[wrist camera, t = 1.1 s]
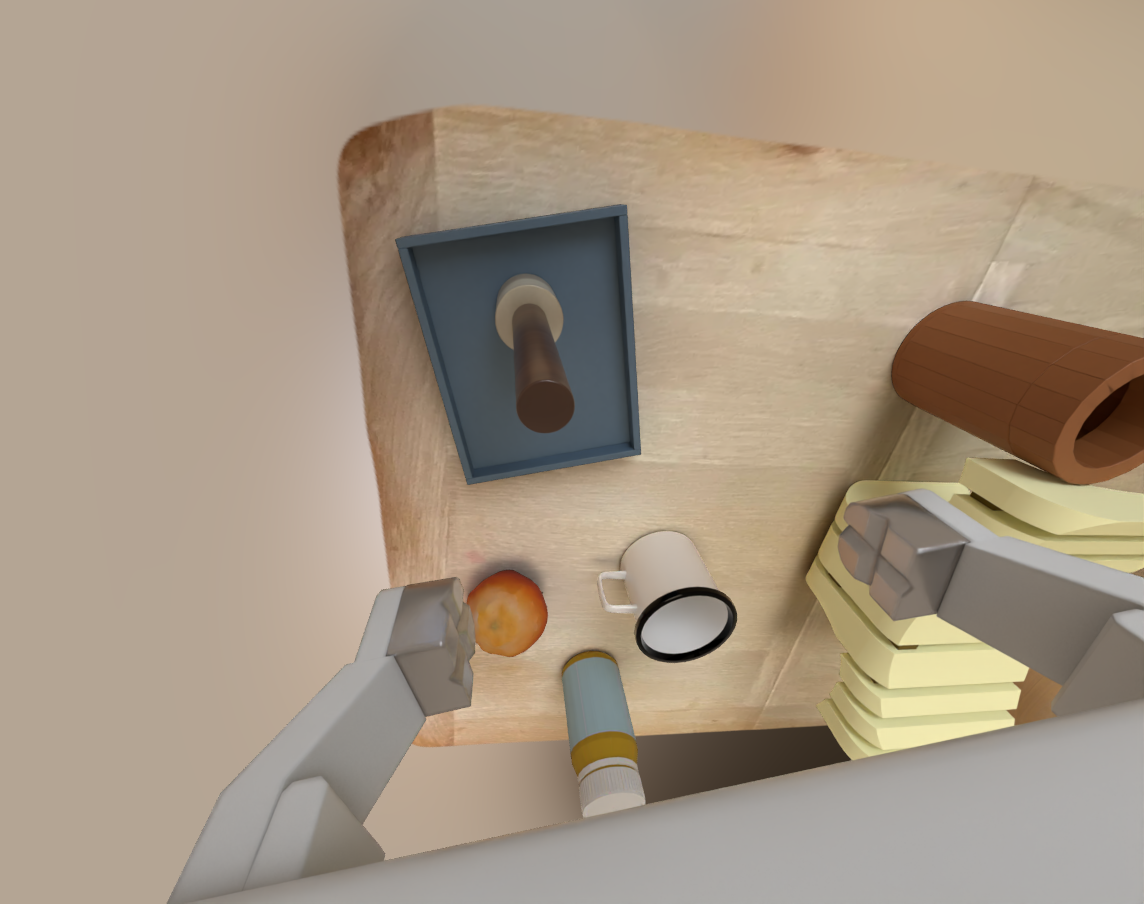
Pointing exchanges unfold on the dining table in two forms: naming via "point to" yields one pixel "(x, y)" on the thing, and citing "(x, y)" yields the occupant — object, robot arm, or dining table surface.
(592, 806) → the bottle
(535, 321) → the bottle brush
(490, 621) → the fruit
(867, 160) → the dining table surface
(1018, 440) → the terracotta utensil crock
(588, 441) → the tray
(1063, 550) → the slatted curved stool
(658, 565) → the mug
